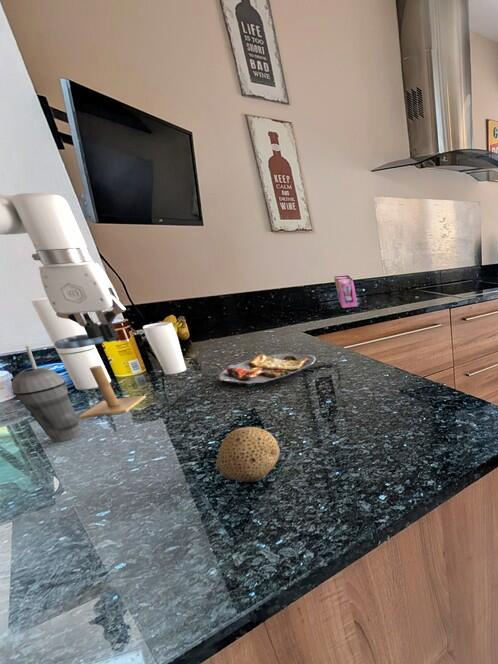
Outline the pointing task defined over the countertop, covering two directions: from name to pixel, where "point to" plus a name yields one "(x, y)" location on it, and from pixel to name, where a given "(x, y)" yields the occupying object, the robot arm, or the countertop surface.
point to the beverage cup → (47, 401)
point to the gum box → (345, 291)
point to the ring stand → (109, 397)
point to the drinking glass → (165, 346)
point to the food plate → (266, 368)
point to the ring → (78, 341)
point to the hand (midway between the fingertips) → (105, 340)
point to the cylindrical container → (73, 358)
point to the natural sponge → (247, 454)
